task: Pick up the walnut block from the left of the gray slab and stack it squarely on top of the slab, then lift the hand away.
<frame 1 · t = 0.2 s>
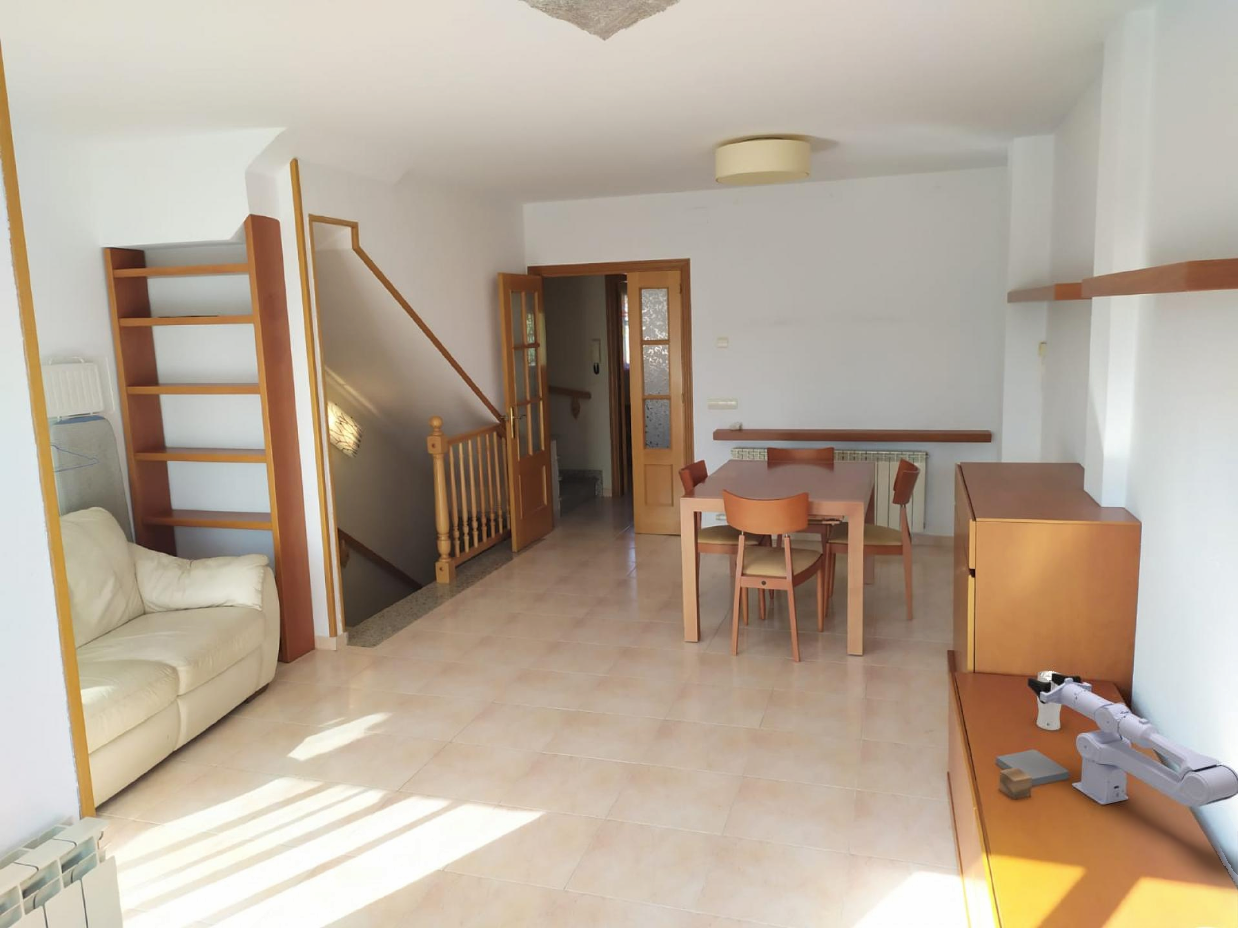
hand: (1040, 679, 231), 21 cm above the sideboard, tool horizontal, fingers open, 7 cm apart
gray slab: (1031, 772, 227), on the sideboard
beer glass: (1048, 726, 251), on the sideboard
walnut block: (1014, 792, 217), on the sideboard
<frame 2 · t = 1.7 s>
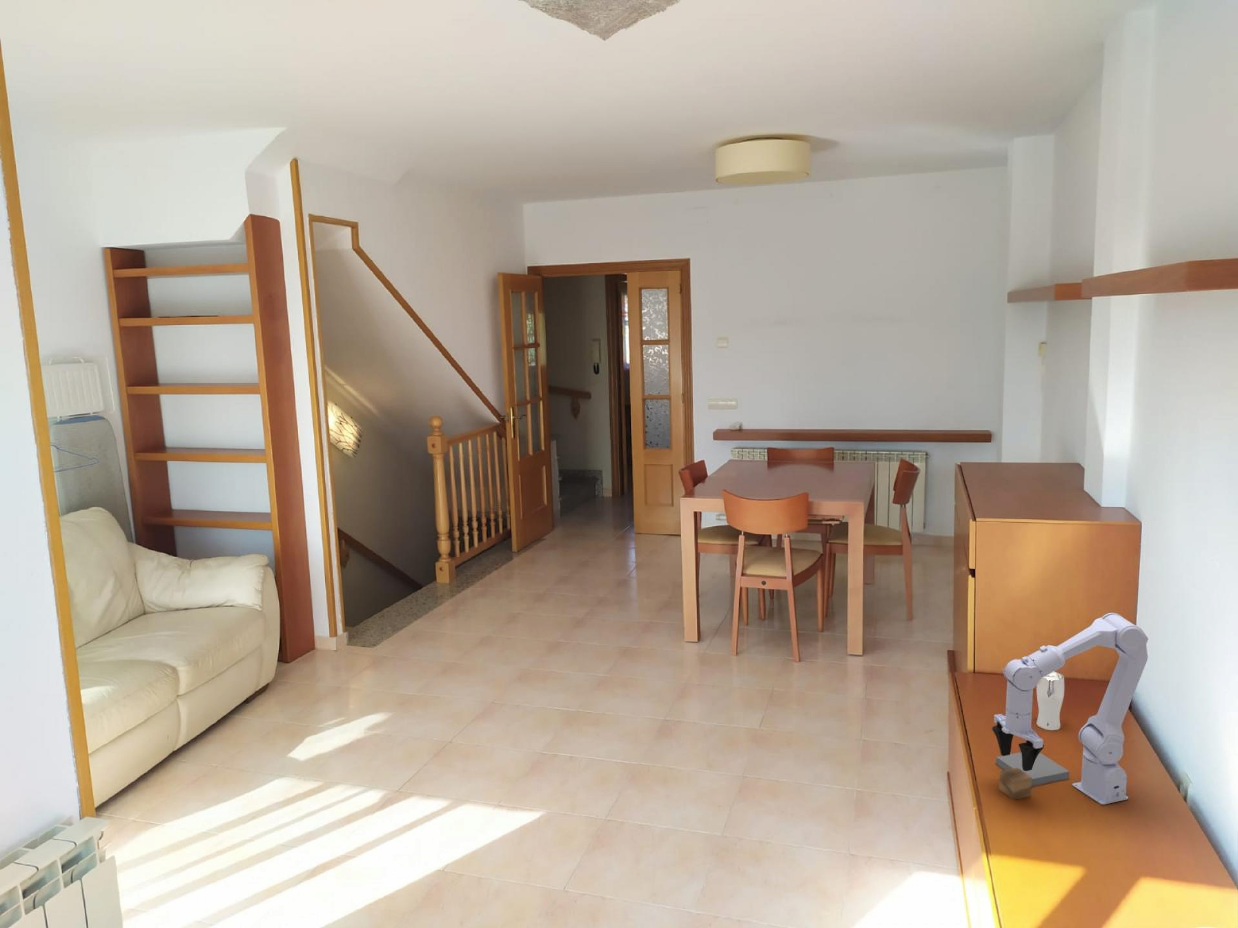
hand: (1016, 762, 216), 8 cm above the sideboard, tool pointing down, fingers open, 7 cm apart
nothing on the sideboard moved.
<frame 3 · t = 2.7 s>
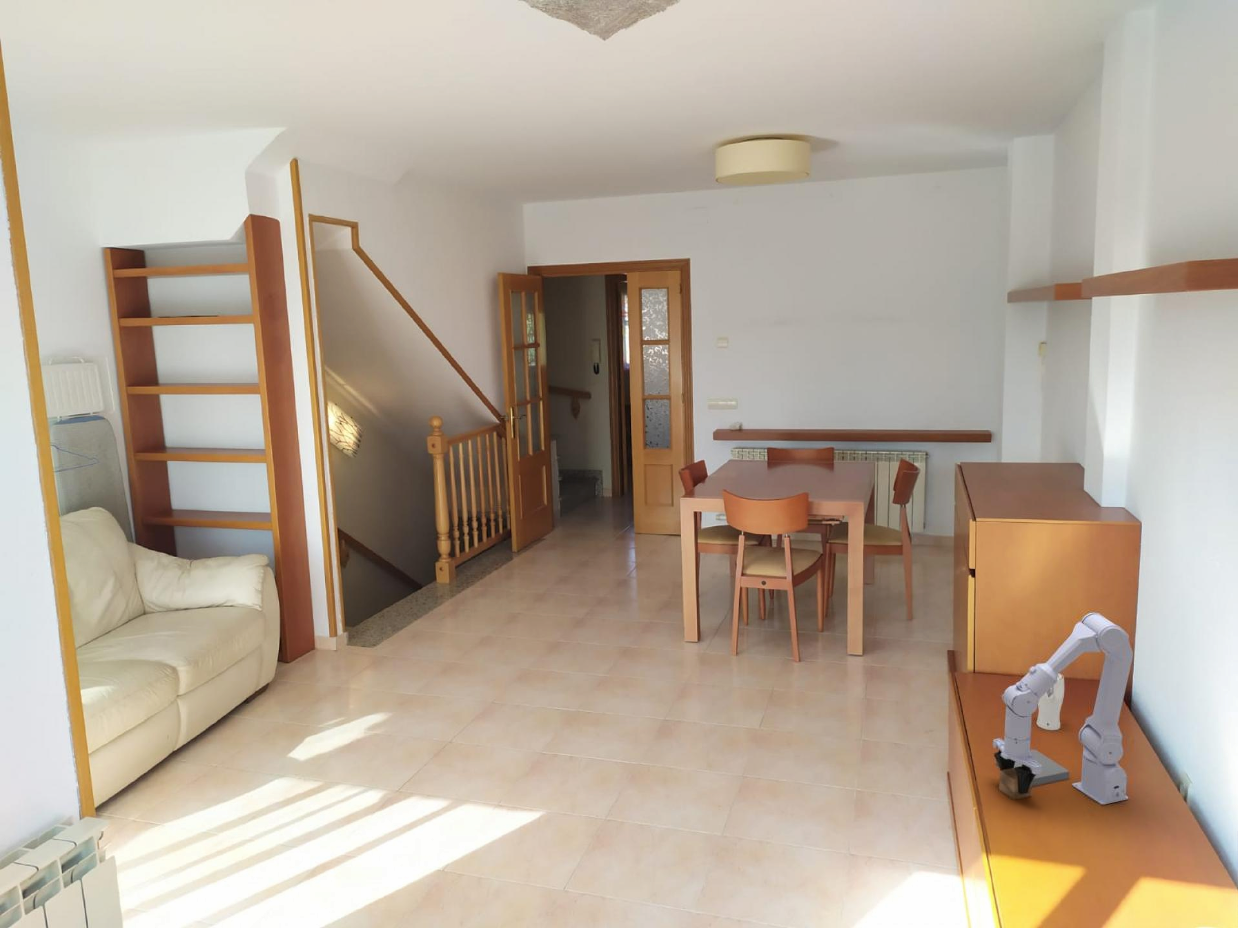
hand: (1015, 787, 217), 1 cm above the sideboard, tool pointing down, fingers closed on walnut block, 5 cm apart
walnut block: (1014, 792, 217), on the sideboard, touching gripper
everything else where it was.
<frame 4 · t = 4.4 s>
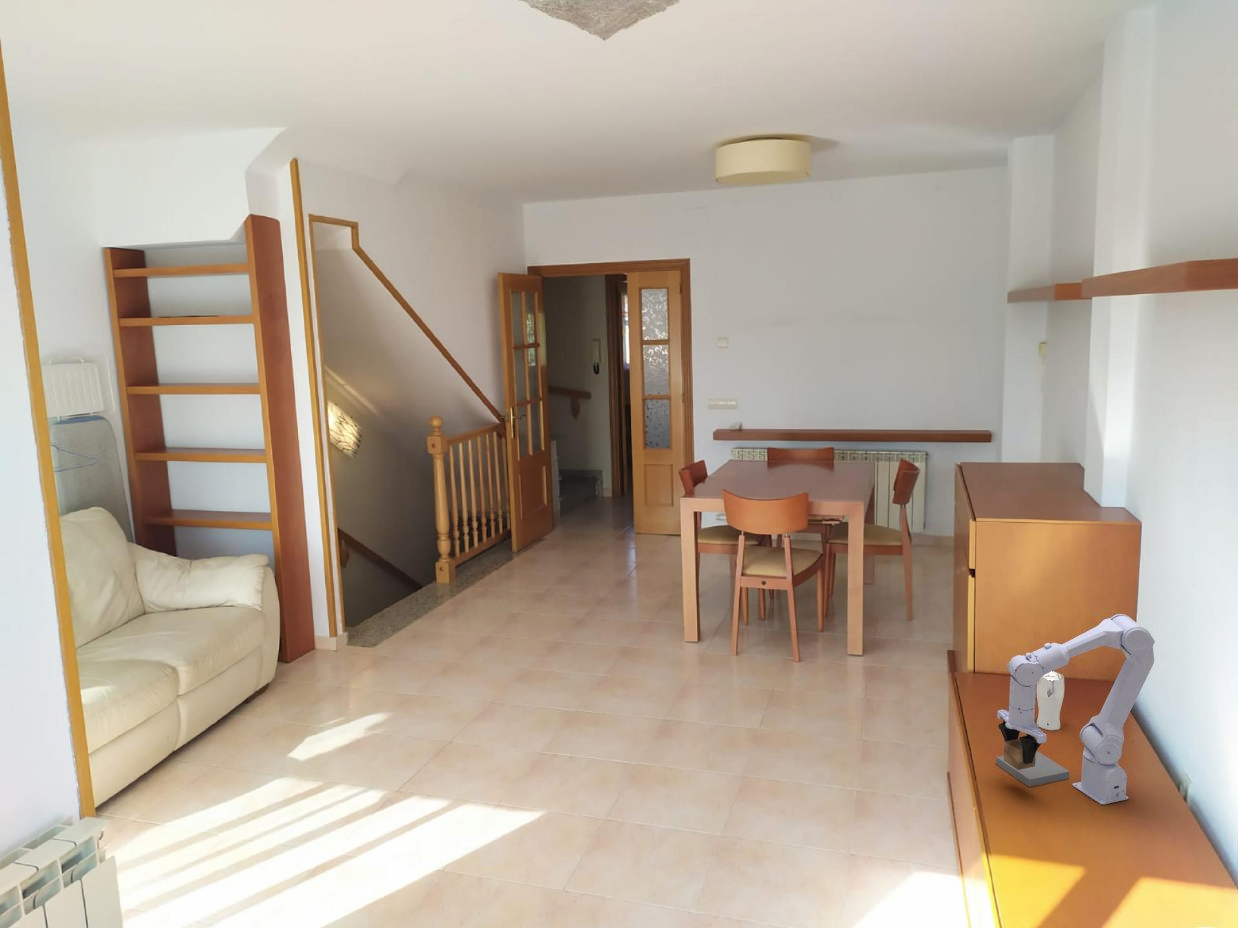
hand: (1019, 757, 218), 8 cm above the sideboard, tool pointing down, fingers closed on walnut block, 5 cm apart
walnut block: (1019, 763, 218), point 7 cm above the sideboard, touching gripper
everything else where it was.
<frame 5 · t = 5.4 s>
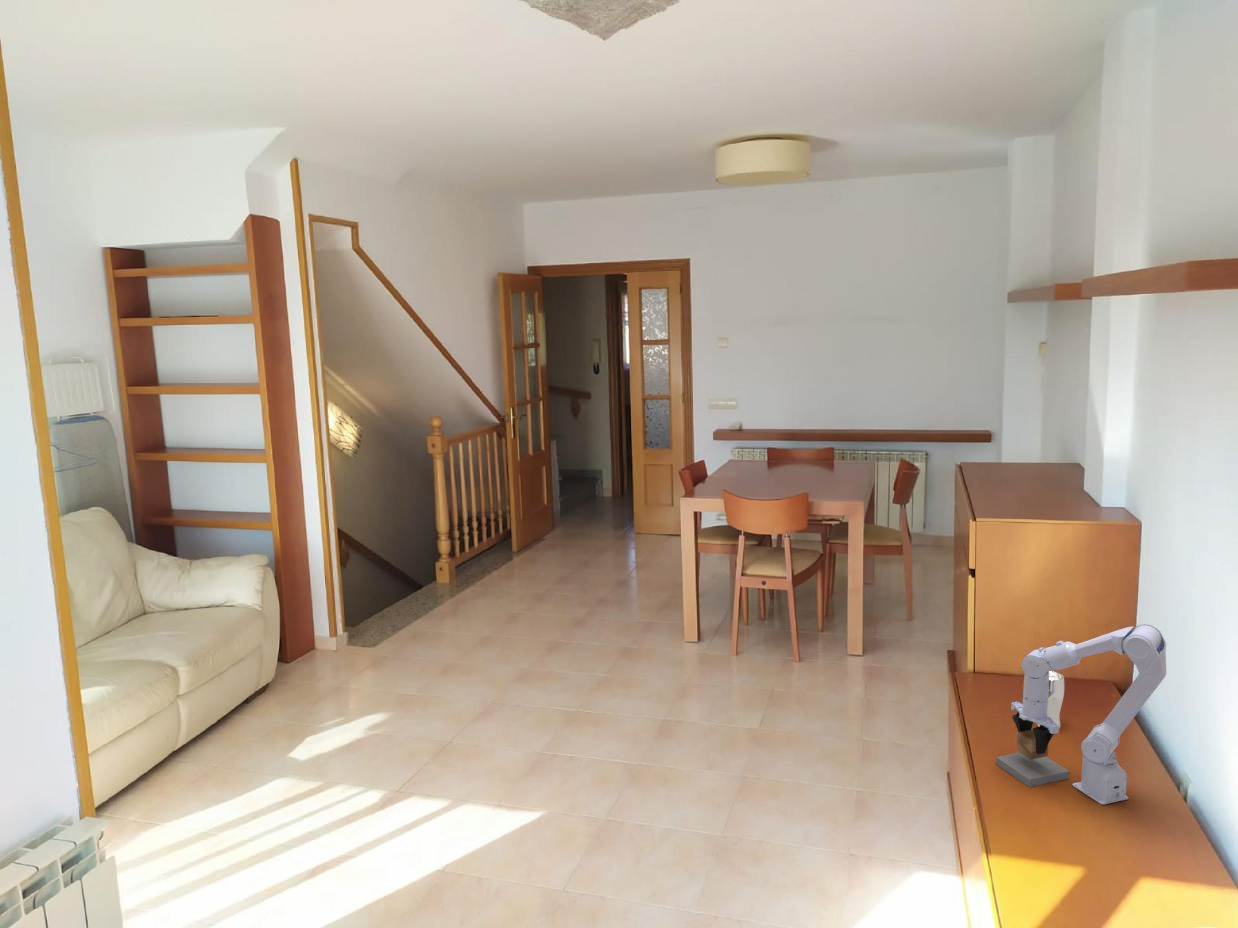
hand: (1032, 747, 226), 6 cm above the sideboard, tool pointing down, fingers closed on walnut block, 5 cm apart
walnut block: (1032, 753, 226), point 5 cm above the sideboard, touching gripper
everything else where it was.
when the fingers open (5 cm above the sideboard, at t = 6.1 s): walnut block drops 2 cm, point 2 cm above the sideboard.
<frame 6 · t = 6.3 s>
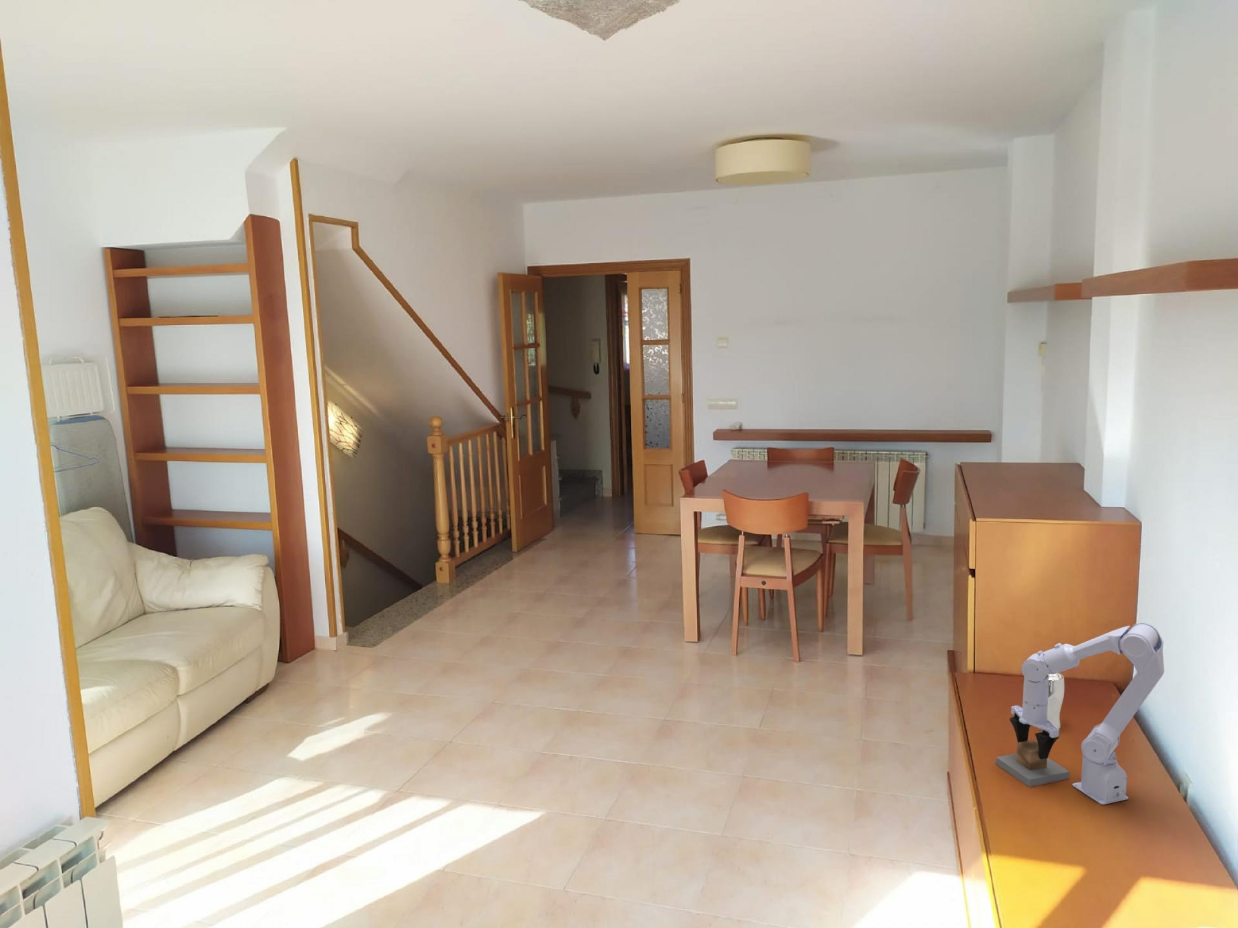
hand: (1032, 751, 226), 5 cm above the sideboard, tool pointing down, fingers open, 7 cm apart
walnut block: (1031, 763, 227), point 2 cm above the sideboard
everything else where it was.
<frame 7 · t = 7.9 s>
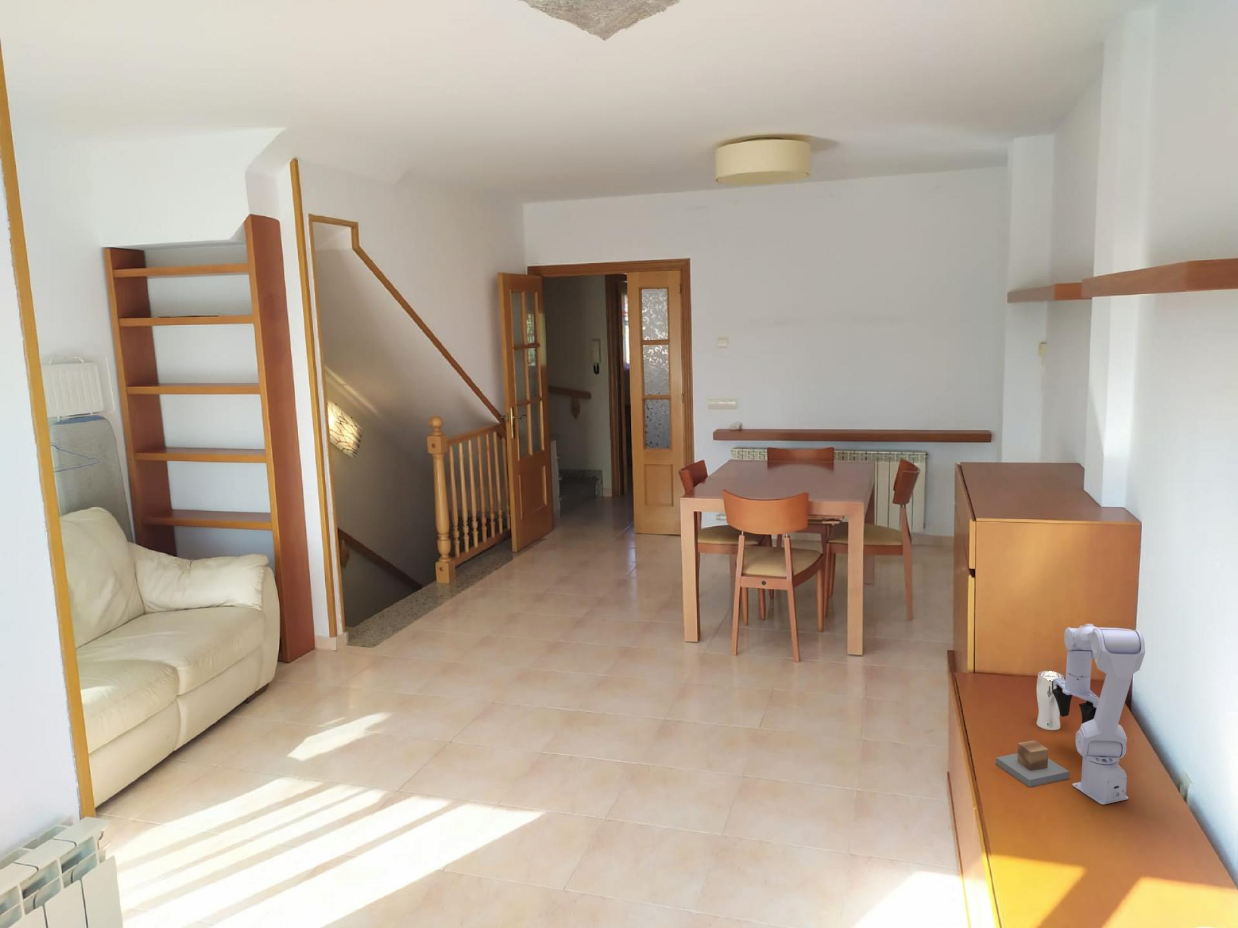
hand: (1075, 721, 232), 9 cm above the sideboard, tool pointing down, fingers open, 7 cm apart
nothing on the sideboard moved.
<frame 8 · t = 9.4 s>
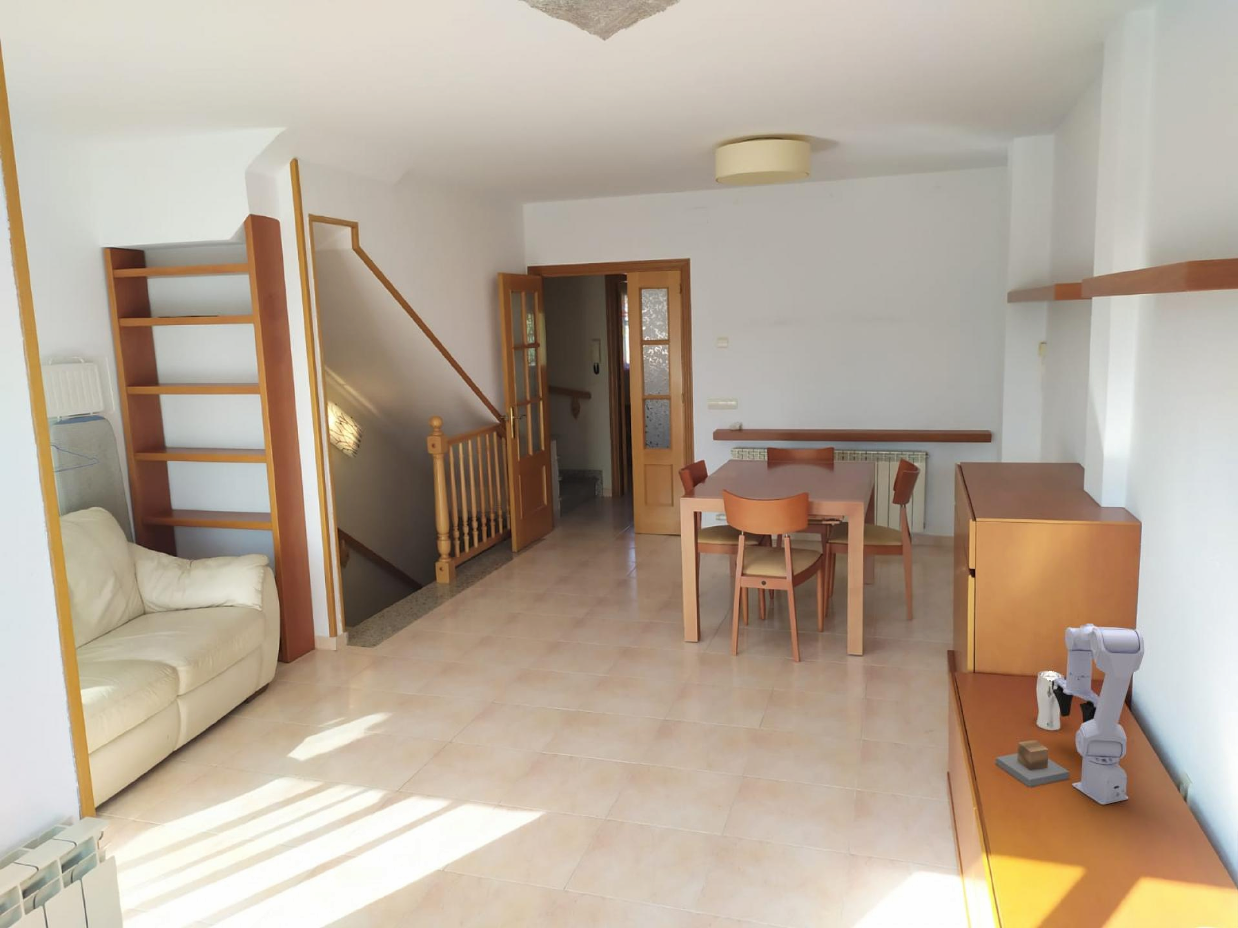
hand: (1076, 721, 233), 9 cm above the sideboard, tool pointing down, fingers open, 7 cm apart
gray slab: (1031, 773, 227), on the sideboard, touching walnut block
walnut block: (1032, 763, 227), point 2 cm above the sideboard, touching gray slab
everything else where it was.
at the end: walnut block 0.1 cm off-centre on the gray slab, point 2.5 cm above the gray slab's base; walnut block tilted 0°; the gripper is holding nothing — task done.
